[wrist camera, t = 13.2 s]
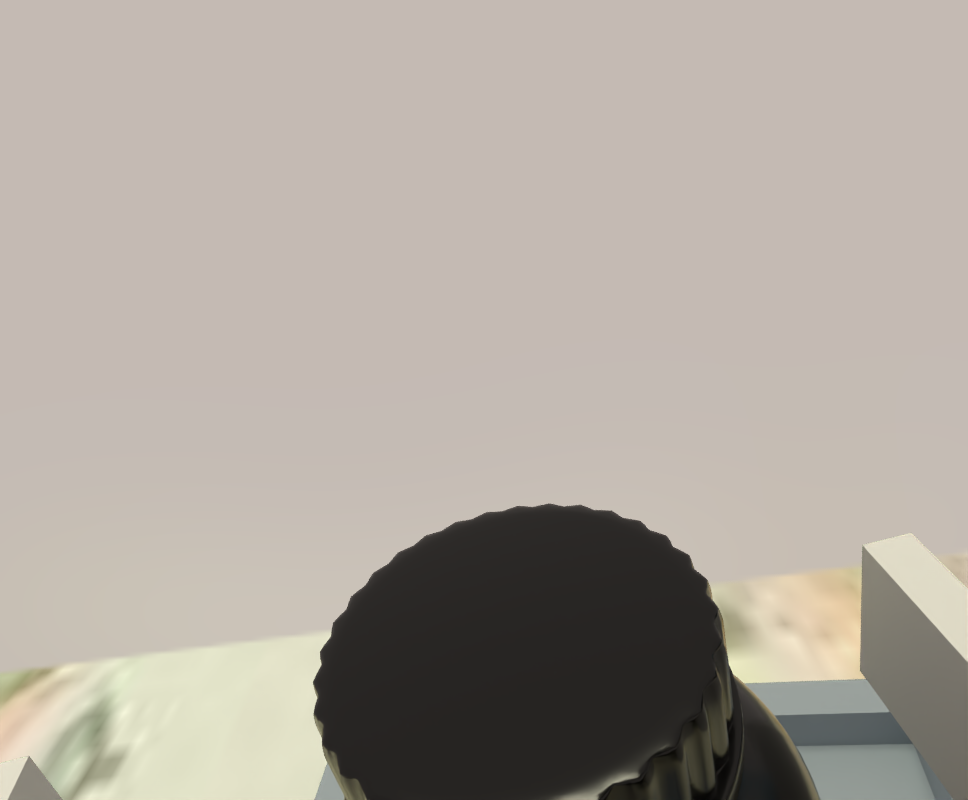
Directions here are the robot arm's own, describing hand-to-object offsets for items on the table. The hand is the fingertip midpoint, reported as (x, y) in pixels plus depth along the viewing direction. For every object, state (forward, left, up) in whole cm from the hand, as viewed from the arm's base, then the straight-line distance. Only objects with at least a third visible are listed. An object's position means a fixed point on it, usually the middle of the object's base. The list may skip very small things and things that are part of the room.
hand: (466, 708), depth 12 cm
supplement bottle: (-2, +2, -9) cm, 9 cm away
